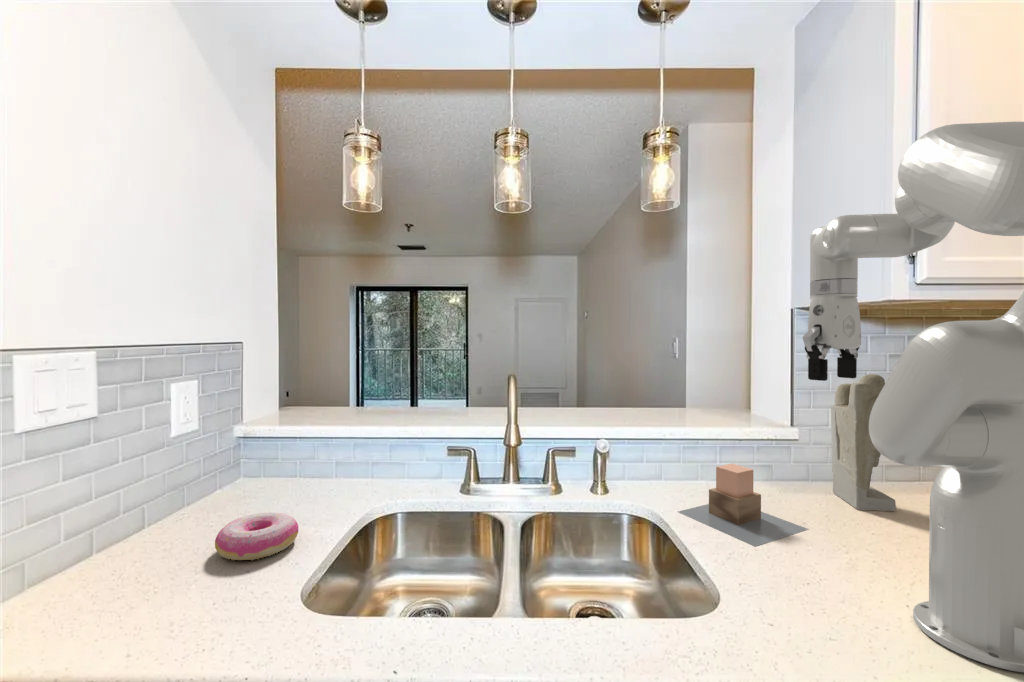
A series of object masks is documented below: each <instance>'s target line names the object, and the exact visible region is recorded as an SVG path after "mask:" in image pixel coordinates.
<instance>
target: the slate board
mask: <svg viewBox="0 0 1024 682" xmlns="http://www.w3.org/2000/svg"><path fill="white" fill-rule="evenodd" d="M677 513H678V514H681V515H683V516H686V517H688V518H690V519H692V520H694V521H696V522H699V523H701V524H703V525H705V526H708V527H710V528H712V529H715V530H717V531H719V532H721V533H724V534H726V535H728V536H730V537H733V539H737V540H739V541H741V542H744V543H746V544H748V545H750V546H752V547H755V548H756V547H759V546H762V545H766V544H768V543H771V542H774V541H777V540H780V539H783V538H787V537H789V536H793V535H795V534H798V533H802V532H805V531H808V530H809V528H808V527H804V526H802V525H798V524H796V523H793V522H791V521H788V520H785V519H782V518H781V517H778V516H775V515H771V514H769V513H767V512H763V511H761V519H758V520H754V521H751V522H747V523H744V524H740V525H737V524H735V523H732V522H730V521H727V520H725V519H723V518H720V517H718V516H715V515H713V514H711V513H709V503H707V504H704V505H700V506H695V507H690V508H687V509H686V508H685V509H684V510H683V509H682V510H678V511H677Z"/></svg>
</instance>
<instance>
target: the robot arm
mask: <svg viewBox="0 0 1024 682" xmlns="http://www.w3.org/2000/svg"><path fill="white" fill-rule="evenodd" d="M897 178H898V183H899V187H898V189H897V191H896V193H895V196H894V206H895V210H896V213H876V214H875V213H871V214H870V213H869V214H868V213H866V214H846V215H839V216H837V217H835V218H833V219H832V220H830V221H829V222H828V223H826V225H824V226H820V227H817V228H815V229H813V230H812V232H811V234H810V237H809V238H810V239H809V241H810V242H809V243H810V244H809V250H810V251H809V254H810V255H809V300H810V303H809V309H808V320H807V332H806V333H805V334H803V336H802V340H803V344H804V351H805V353H806V359H807V361H808V365H807V367H808V368H807V369H808V370H807V378H808V380H809V381H821V382H822V381H823V382H825V381H826V382H827V381H828V378H829V377H828V375H829V374H828V372H829V371H828V370H829V369H828V364H829V363H828V361H829V360H828V359H826V356H827V354H828V353H829V351H830V349H834V350H836V351H837V353H838V356H839V357H837V358H836V360H837V361H836V362H837V364H836V366H837V367H836V368H837V371H836V372H837V373H836V375H837V378H843V379H856V378H857V364H858V362H857V361H858V359H857V358H858V357H859V352H858V351H859V349H860V347H861V345H862V327H861V326H862V325H861V316H860V315H861V314H860V307H859V306H860V305H859V301H858V290H859V289H858V287H859V286H858V284H859V280H858V277H859V276H858V275H859V273H858V271H859V270H858V268H859V267H858V264H859V260H858V259H865V258H866V259H871V258H872V259H873V258H876V259H877V258H878V259H881V258H882V259H883V258H885V259H886V258H901V257H905V256H908V255H912V254H915V253H918V252H921V251H922V250H923V251H924V250H925V249H927V248H930V247H933V246H935V245H937V244H939V243H941V242H942V241H943V240H944V239H945V238H946V237H947V236H948V235H949V233H950V232H951V230H952V229H953V227H954V225H955V223H957V224H958V225H961V226H963V227H965V228H967V229H969V230H972V231H975V232H979V233H981V234H986V235H992V236H1001V237H1021V236H1022V237H1024V121H998V122H996V121H994V122H975V123H970V122H969V123H953V124H948V125H947V124H945V125H942V126H939V127H936V128H934V129H932V130H930V131H928V132H926V133H924V134H923V135H921V136H920V137H919V138H917V140H915V141H914V142H913V143H912V144H911V145H910V146H909V147H908V149H907V150H906V151H905V153H904V154H903V156H902V158H901V159H900V162H899V166H898V171H897ZM869 434H870V438H871V441H872V443H873V445H874V446H875V448H876V449H877V450H878V451H879V453H881V455H882V456H883V457H885V458H886V459H888V460H890V462H891V461H892V462H894V463H897V464H901V465H905V466H911V467H912V466H913V467H914V466H915V467H939V468H940V467H941V468H940V470H939V472H938V473H937V475H936V477H935V479H934V480H933V483H932V486H931V490H930V494H929V536H928V537H929V540H928V541H929V547H928V550H929V551H928V553H929V554H928V557H929V558H928V561H929V562H928V601H927V600H926V601H922V602H920V603H919V602H918V603H917V604H916V605H915V606H914V608H913V610H912V618H913V621H914V623H915V625H917V627H918V628H919V629H920V630H921V631H922V632H923V633H924V634H926V635H927V636H928V637H929V638H931V639H933V640H934V641H935V642H937V643H939V644H940V645H942V646H943V647H945V648H947V649H949V650H951V651H953V652H954V653H957V654H959V655H961V656H964V657H966V658H968V659H971V660H974V661H976V662H979V663H982V664H984V665H987V666H992V667H995V668H998V669H1002V670H1007V671H1010V672H1014V673H1015V672H1016V673H1023V674H1024V290H1023V292H1022V293H1021V294H1020V296H1019V298H1017V300H1016V301H1015V303H1014V304H1013V305H1012V306H1011V307H1010V308H1009V310H1008V311H1006V312H1005V313H1004V314H1003V315H1001V316H1000V317H996V318H994V319H990V320H989V319H988V320H975V319H974V320H953V321H945V322H940V323H937V324H934V325H931V326H929V327H926V328H925V329H924V330H922V331H921V332H919V333H918V334H917V335H916V336H914V337H913V338H912V339H911V340H910V341H909V342H908V343H907V346H906V347H905V349H904V350H903V352H901V355H900V356H899V358H898V361H897V362H896V364H895V365H894V367H893V369H892V370H891V373H890V375H888V378H887V379H886V381H885V385H884V387H883V388H882V390H881V392H880V394H879V396H878V397H877V399H876V401H875V403H874V405H873V408H872V411H871V414H870V418H869Z"/></svg>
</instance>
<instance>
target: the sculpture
mask: <svg viewBox="0 0 1024 682" xmlns="http://www.w3.org/2000/svg"><path fill="white" fill-rule="evenodd" d="M885 383H886V381H885V378H884V377H882V376H881V375H880V374H875V373H871V374H865V375H863V376H862V377H860V379H859V381H858V382H853V383H841V384H840V385H838V386H837V387H836V390H835V393H834V394H835V395H834V405H831V406H830V419H831V420H830V423H831V424H830V427H831V430H830V431H831V469H832V470H831V472H832V493H833V494H834V495H835V496H837V497H839V499H841V500H843V501H845V502H846V503H847V504H848V505H850V506H852V507H853V508H855V509H857V510H864V511H883V512H884V511H885V512H896V511H897V505H896V504H897V503H896V499H895V498H893V497H890V496H889V495H887V494H885V493H884V492H882V491H880V490H878V489H876V488H875V487H873V486H871V481H872V474H873V469H874V468H877V467H878V466H879V462H880V457H881V455H882V454H881V453H879V451H878V450H877V449H876V448H875V446H874V445H873V443H872V441H871V438H870V434H869V418H870V414H871V411H872V408H873V405H874V403H875V401H876V399H877V397H878V396H879V394H880V392H881V390H882V388H883V387H884V385H885Z"/></svg>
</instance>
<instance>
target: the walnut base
mask: <svg viewBox="0 0 1024 682" xmlns="http://www.w3.org/2000/svg"><path fill="white" fill-rule="evenodd" d="M708 504H709V513H711V514H713V515H715V516H718V517H720V518H723V519H725V520H727V521H730V522H732V523H735V524H737V525H740V524H744V523H747V522H751V521H754V520H758V519H761V512H762V494H761V493H758V492H755V491H753V494H750V495H746V496H742V497H738V498H737V497H734V496H731V495H728V494H726V493H723V492H720V491H717V490H716V487H713V488H709V489H708Z"/></svg>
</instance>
